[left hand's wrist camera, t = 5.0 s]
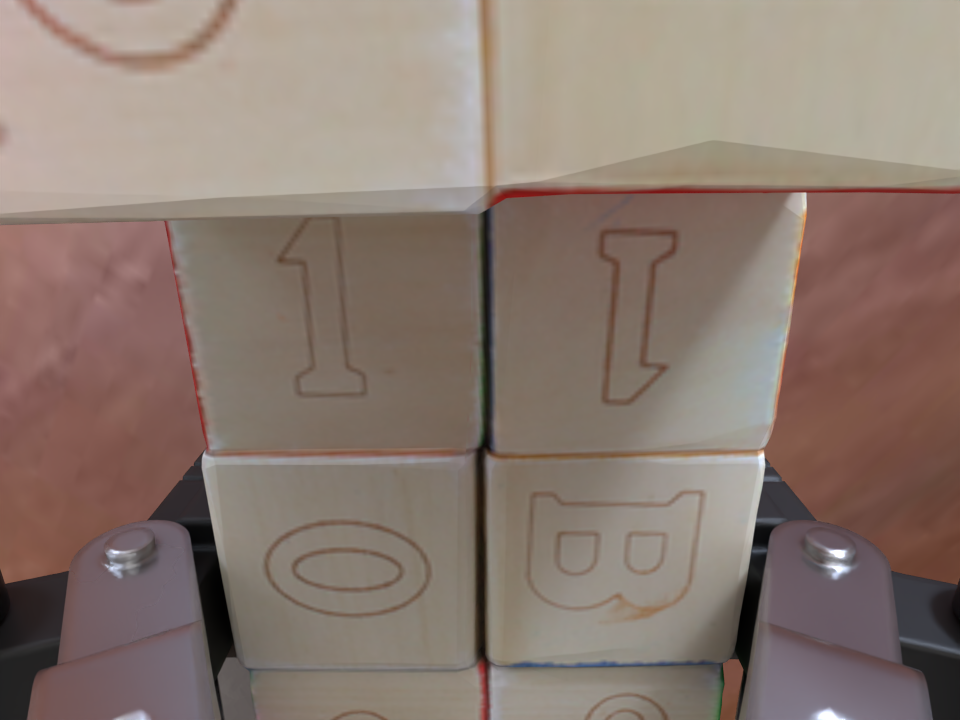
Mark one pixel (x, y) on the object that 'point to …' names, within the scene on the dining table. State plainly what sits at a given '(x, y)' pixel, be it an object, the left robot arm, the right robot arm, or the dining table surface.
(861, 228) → the dining table surface
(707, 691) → the stack of blocks
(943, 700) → the left robot arm
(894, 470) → the dining table surface
